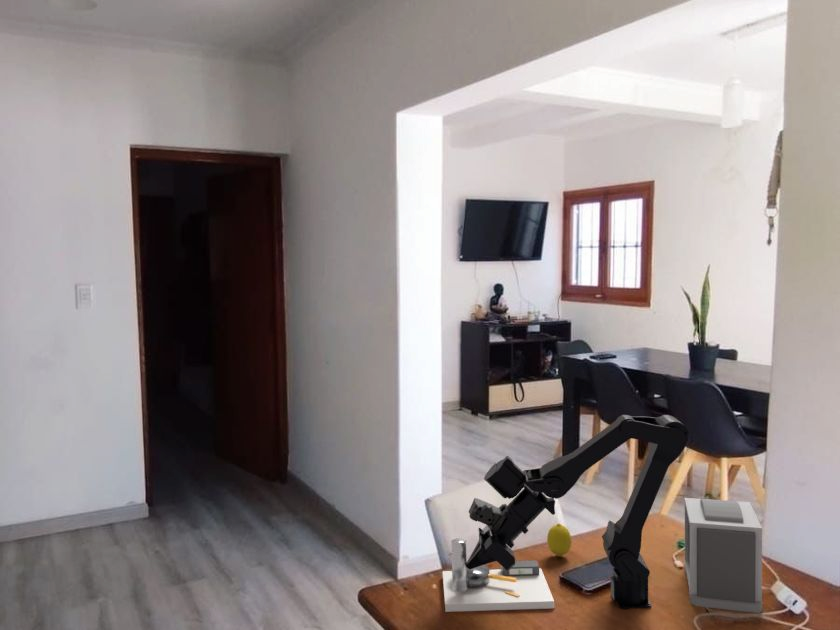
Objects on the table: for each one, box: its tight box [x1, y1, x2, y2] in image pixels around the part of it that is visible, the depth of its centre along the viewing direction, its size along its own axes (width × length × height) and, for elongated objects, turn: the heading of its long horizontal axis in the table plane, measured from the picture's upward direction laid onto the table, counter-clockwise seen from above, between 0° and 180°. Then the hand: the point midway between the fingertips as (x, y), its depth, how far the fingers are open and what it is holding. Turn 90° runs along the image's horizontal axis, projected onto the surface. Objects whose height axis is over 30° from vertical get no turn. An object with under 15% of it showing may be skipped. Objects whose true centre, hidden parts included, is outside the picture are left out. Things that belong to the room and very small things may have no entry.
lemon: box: [546, 523, 572, 558], centre depth 160 cm, size 6×6×8 cm
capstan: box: [450, 537, 517, 592], centre depth 143 cm, size 14×12×11 cm
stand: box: [442, 560, 555, 613], centre depth 144 cm, size 22×15×4 cm
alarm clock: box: [684, 497, 763, 614], centre depth 142 cm, size 18×13×18 cm
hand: (467, 567), depth 140 cm, fingers closed, pressing on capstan
